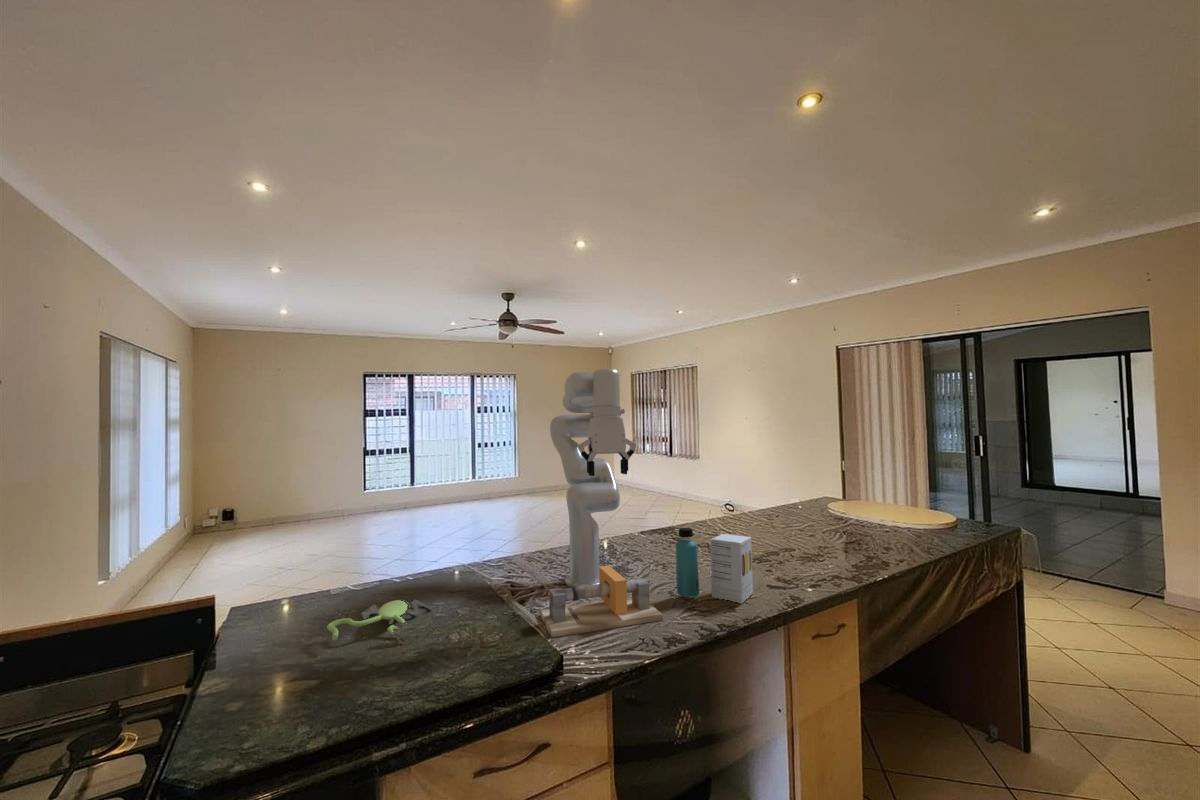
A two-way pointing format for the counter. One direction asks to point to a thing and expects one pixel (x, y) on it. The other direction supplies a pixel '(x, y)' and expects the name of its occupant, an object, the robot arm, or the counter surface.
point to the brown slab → (614, 589)
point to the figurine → (385, 612)
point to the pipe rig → (596, 609)
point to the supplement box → (731, 567)
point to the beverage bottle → (687, 565)
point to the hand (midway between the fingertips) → (607, 474)
